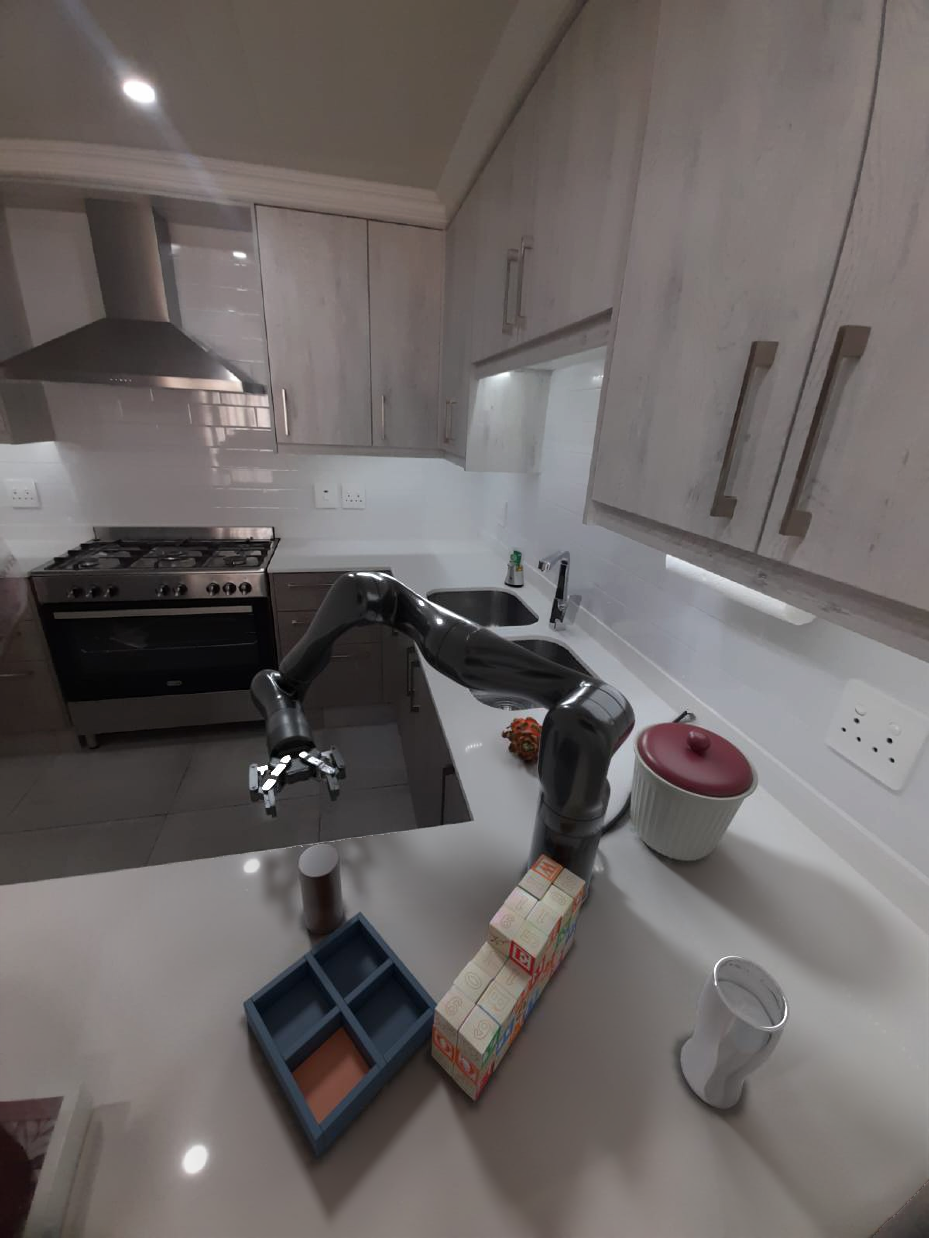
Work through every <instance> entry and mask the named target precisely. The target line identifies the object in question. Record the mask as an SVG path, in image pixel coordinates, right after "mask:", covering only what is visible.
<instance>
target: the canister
mask: <svg viewBox="0 0 929 1238" xmlns="http://www.w3.org/2000/svg"><path fill="white" fill-rule="evenodd" d="M632 741H633V742H632V748H633V752H634V754H635V756H634V765H633V773H632V784H631V790H632V793H631V805H630V818H631V823H632V826H633V827H634V830H635V831H636V833H637V835H638V836H639V837H640V838H641V840H642V841H643V842H644V843H645V844H646V845H647V846H649V848H651V849H652V850H654V851H656V852H657V854H661V855H662V856H664V857H668V858H669V859H674V860H676V861H681V862H685V861H687V862H691V861H697V860H701V859H704V858H705V857H706V856H708V855H709V854H711V852H713V851H714V850H715V848H716V847H717V845H718V844H719V843H720V841H721V839H722V838H723V836H724V835H725V833H726V831H727V830H728V828H729V826H731V825H730V824H731V823H732V821H733V820H734V818H735V816H736V814H737V813H738V811H739V809H740V807H741V806H742V804H743V803H744V801H745V799H747V798H748V797H750V796H751V795H752V794H753V793H754V792H755V791H756V789H757V787H758V784H759V774H758V771H757V769H756V767H755V765H754V763H753V762H752V761H751V759H750V758H749V757H748V756H747V755H746V754H745V753H744V752H743V750H741V749H740V748H739V747H738V746H736V745H735V744H733V743H732V742H730V741H729V740H727V739H726V738H725V737H723V736H721V735H720V734H718V733H715V732H713V731H711V730H709V729H706V728H703V727H701V726H697V725H694V724H689V723H683V722H678V723H673V721H669V722H668V721H667V722H666V721H665V722H656V723H651V724H648V725H646V726H643V727H642V728H641V729H639V730H638V731H637V732H636V734H635V735H634V738H633V740H632Z"/></svg>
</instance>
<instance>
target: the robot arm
mask: <svg viewBox="0 0 929 1238" xmlns="http://www.w3.org/2000/svg"><path fill="white" fill-rule="evenodd" d="M369 626H386V627H389V628H392V629H394V630H396V631H398V632H400V633H402V634H404V635H405V636H407V637H409V638H410V639H411V640H412V641H413V642H414V643H415V644H416V646H417V648H418V650H419V652H420V654H421V656H422V657H423V659H424V660H425V662H426V663H427V664H428V665H429V666H430V667H431V668H432V669H434V670H435V671H437V672H438V673H439V674H441V675H443V677H446V678H448V679H449V680H451V681H452V682H454V683H456V684H458V685H460V686H462V687H464V688H466V689H468V690H470V691H475V692H479V693H484V694H490V695H497V696H503V697H510V698H517V699H521V700H526V701H528V702H531V703H533V704H535V705H538V706H540V707H542V708H543V709H545V710H547V712H546V713H545V715H544V718H543V721H542V724H541V726H542V728H541V734H540V743H539V753H538V762H537V767H536V770H537V778H538V781H539V783H540V784H539V790H538V797H537V805H536V812H535V816H534V817H535V818H534V823H533V829H532V836H531V842H530V848H529V855H528V861H527V866H526V869H525V875H526V874H527V872H528V871H529V870H530V869H531V868H532V867H533V866H534V864H535V863H536V862H537V861H538V859H539V858H540V857H541V855H542V854H543V855H545V856H547V857H548V858H550V859H551V860H553V861H555V862H556V863H558V864H559V865H561V866H562V867H563V869H564V868H566V869H567V870H569V871H570V872H572V873H573V874H575V875H576V876H578V877H579V878H581V879H582V880H584V881H585V882H586V883H585V888H584V892H583V896H582V902H581V905H583V904H584V902H586V900H587V897H588V895H589V891H590V884H591V880H592V875H593V872H594V867H595V863H596V860H597V859H596V858H597V854H598V850H599V846H600V842H601V837H602V835H604V834H606V833H607V832H608V831H610V830H611V829H612V828H613V827H615V825H616V824H618V822H619V821H621V820H622V818H623V817H624V816H625V815H626V813H627V811H628V810H630V809H629V808H631V793H632V789H631V790H630V793H629V794H628V797H627V798H626V801H625V803H624V805H623V806H622V808H621V809H620V811H619V812H618V813H617V814H616V815H615V816H614V817H613V818H612V819H611V820H610V821H608V822H607V823H606V824H605V819H606V815H607V811H608V806H609V804H610V803H609V802H610V798H611V785H610V781H609V779H608V778H607V777H608V773H609V769H610V765H611V761H612V759H613V758H614V755H616V753H617V752H618V751H619V750H620V748H621V747H622V745H624V743H626V741H627V740H628V738H629V737H630V735H631V734H632V732H633V730H634V728H635V725H636V715H635V711H634V708H633V706H632V704H631V703H630V701H629V699H628V698H627V697H626V696H625V695H624V694H623V693H622V692H621V691H619V689H617V688H616V687H614V686H613V685H611V684H608V683H607V682H605V681H603V680H600V679H599V678H597V677H593V676H591V675H588V674H586V673H583V672H580V671H578V670H575V669H573V668H570V667H567V666H564V665H562V664H559V663H557V662H554V661H552V660H550V659H547V658H545V657H543V656H540V655H539V654H537V653H535V652H534V651H531V650H530V649H527V648H525V647H523V646H521V645H519V644H517V643H515V642H513V641H511V640H509V639H507V638H505V637H503V636H501V635H499V634H497V633H495V632H494V631H492V630H490V629H489V628H487V627H485V626H482V625H481V624H479V623H477V622H475V621H473V620H471V619H469V618H467V617H464V616H462V615H460V614H458V613H456V612H454V611H452V610H450V609H448V608H446V607H444V606H441V605H439V604H437V603H435V602H433V601H431V600H428V599H427V598H425V597H423V596H422V595H420V594H419V593H417V592H416V591H414V590H413V589H411V588H410V587H408V586H407V585H405V584H404V583H403V582H401V581H400V580H398V579H397V578H395V577H393V576H392V575H390V574H388V573H385V572H381V571H348V572H346V573H343V574H341V575H340V576H339V577H338V578H336V580H335V581H334V582H333V584H332V585H331V587H330V588H329V590H328V591H327V593H326V595H325V596H324V599H323V601H322V602H321V604H320V606H319V608H318V609H317V611H316V613H315V615H314V616H313V618H312V620H311V622H310V624H309V626H308V627H307V628H306V630H305V632H304V634H303V635H302V636H301V637H300V638H299V640H298V641H297V643H295V645H294V646H293V647H292V648H291V649H290V651H288V652H287V654H286V655H285V656H284V657H283V658H282V660H281V661H280V663H279V666H278V670H274V669H270V668H269V669H267V668H266V669H263V670H260V671H259V672H257V673H255V675H254V677H253V678H252V680H251V683H250V685H249V686H250V687H249V693H250V699H251V702H252V704H253V705H254V707H255V708H256V709H257V711H258V712H259V714H260V715H261V716H262V718H263V719H264V725H265V740H266V747H267V752H268V758H269V759H268V760H269V762H268V764H267V765H263V766H258V764H257V763H251V764H250V765H249V766H248V783H249V784H248V787H249V789H248V791H249V795H250V801H251V802H252V803H257V802H259V801H263V802H264V808H265V814H266V815H267V816H271V818H272V819H274V818H277V817H278V813H277V806H276V799H275V797H276V796H277V795H278V794H279V793H281V792H282V791H283V789H284V788H285V787H286V786H287V784H288V786H291V785H293V784H297V783H299V782H305V781H310V779H311V780H314V781H315V782H317V783H321V782H322V783H324V784H326V785H327V786H326V787H327V790H328V793H329V797H330V800H331V802H336V801H337V797H340V792H341V791H340V784H339V780H345V779H346V777H347V773H346V762H345V760H344V758H343V757H342V754H341V752H340V749H339V748H338V746H337V745H336V744H335V745H334V744H333V745H330V746H329V750H326V751H320V750H318V749H317V748H318V747H317V745H316V742H315V737H314V734H313V732H312V728H311V725H310V722H309V720H308V719H307V716H306V712H305V710H304V706H303V703H304V701H305V699H306V695H307V693H308V691H309V689H310V687H311V685H312V684H313V681H315V680H316V679H317V677H318V676H319V675H320V674H321V673H323V671H325V669H327V667H328V665H329V664H330V662H331V660H332V658H333V656H334V650H335V643H336V641H337V640H338V639H339V638H340V637H341V636H342V635H344V634H346V632H348V631H350V630H351V629H353V628H361V627H369ZM688 714H689V713H687V711H686V710H684V711H683V712H682V713H681V714H680V715H679V716H678V717H676V718H675V719H673V721H672V722H673V723H680V721H682V720H683V719H684V718H685V717H686V716H687V715H688ZM689 715H690V714H689ZM325 762H327V763H329V765H330V766H329V765H327V764H326V763H325ZM332 766H333V767H332ZM266 775H269V778H268V779H267V781H266V782H265V783H264V784H263V786H260V783H262V782H263V779H265V776H266ZM604 824H605V825H604Z"/></svg>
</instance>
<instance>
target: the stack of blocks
mask: <svg viewBox="0 0 929 1238" xmlns="http://www.w3.org/2000/svg"><path fill="white" fill-rule="evenodd" d="M585 883H586V882H585V881H584V880H582V879H581V878H579V877H578V876H576V875H575V874H573V873H572V872H570V871H569V870H567V869H566V868H564V869H563V867H562V866H561V865H559V864H558V863H556V862H555V861H553V860H551V859H550V858H548V857H547V856H545V855H543V854H542V855H541V857H540V858H539V859H538V861H537V862H536V863H535V864H534V866H533V867H532V868H531V869H530V870H529V871H528V872H527V874H526V873H525V875H524V876H523V877H522V878H521V880H520V882H519V883H518V885H517V886H515V887H514V889H513V890H512V891H511V893H510V894H509V895H508V897H507V898H506V899H505V900H504V902H503V904H502V905H501V906H500V908H499V909H498V910H497V911H496V913H495V915H493V917H492V918H491V920H490V921H489V923H488V930H487V937H486V941H485V942H484V943H483V945H482V946H481V947H480V948H479V950H478V951H477V952H476V953H475V955H474V956H473V958H472V959H471V960H469V961H468V963H467V964H466V965H465V967H464V968H463V969H462V970H461V972H460V973H459V974H458V975H457V976H456V978H455V980H454V981H453V983H452V985H451V986H450V988H449V989H448V990H447V992H445V994H444V995H443V997H442V998H441V1000H440V1001H439V1002H438V1003H437V1006H436V1008H435V1015H434V1025H433V1031H432V1033H431V1057H432V1058H433V1059H434V1060H435V1061H436V1062H437V1063H438V1064H439V1065H440V1066H441V1067H442V1069H444V1071H445V1072H446V1073H447V1074H448V1075H449V1076H450V1077H451V1078H452V1080H453V1081H454V1082H455V1083H456V1084H457V1085H458V1086H459V1087H460V1089H462V1091H463V1092H465V1093H466V1095H468V1097H469V1098H471V1099H472V1100H473V1101H474V1102H476V1101H477V1099H478V1098H479V1095H480V1094H481V1092H482V1090H483V1089H484V1087H485V1085H486V1084H487V1082H488V1080H489V1078H490V1077H491V1075H492V1073H494V1072H495V1070H496V1069H497V1068H498V1065H499V1064H500V1062H501V1061H502V1059H503V1057H504V1056H505V1054H506V1052H507V1051H508V1050H509V1047H510V1046H511V1044H512V1043H513V1041H514V1039H515V1038H516V1036H517V1035H518V1033H519V1032H520V1030H521V1028H522V1027H523V1024H524V1022H525V1020H526V1018H527V1017H528V1015H529V1014H530V1012H531V1011H532V1009H533V1007H534V1005H536V1002H537V1000H538V999H539V997H540V995H541V994H542V992H543V991H544V989H545V987H546V985H547V984H548V983H549V981H550V980H551V979H552V977H553V975H554V974H555V973H556V971H557V970H558V968H559V966H560V964H561V963H562V961H563V960H564V958H565V956H566V955H567V953H568V951H569V950H570V948H571V946H572V945H573V941H574V936H575V933H576V925H577V920H578V917H579V914H580V909H581V906H582V904H581V902H582V896H583V892H584V888H585Z"/></svg>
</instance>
